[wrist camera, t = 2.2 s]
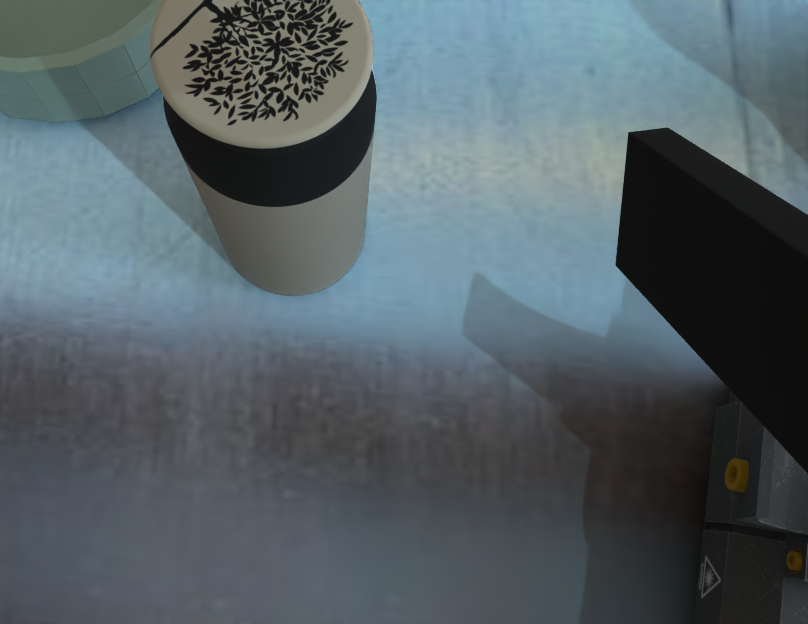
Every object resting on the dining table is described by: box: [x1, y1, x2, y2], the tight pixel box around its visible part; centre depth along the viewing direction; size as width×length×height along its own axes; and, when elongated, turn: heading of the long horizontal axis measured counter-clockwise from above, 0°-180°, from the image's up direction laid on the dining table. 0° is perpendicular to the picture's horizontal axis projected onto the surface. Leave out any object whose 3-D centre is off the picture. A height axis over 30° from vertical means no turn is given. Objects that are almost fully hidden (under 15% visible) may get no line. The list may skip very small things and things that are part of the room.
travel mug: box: [150, 0, 377, 296], centre depth 34 cm, size 8×8×18 cm
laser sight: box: [694, 388, 808, 624], centre depth 35 cm, size 10×22×10 cm, turn 168°
